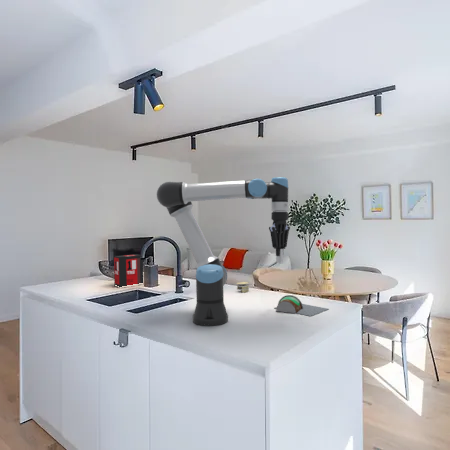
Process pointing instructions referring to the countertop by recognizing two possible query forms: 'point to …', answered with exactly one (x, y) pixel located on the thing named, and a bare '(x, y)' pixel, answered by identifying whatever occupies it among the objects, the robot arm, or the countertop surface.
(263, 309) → the countertop surface
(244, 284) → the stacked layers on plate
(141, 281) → the cleaning product box
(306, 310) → the rubber mat
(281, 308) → the food container
